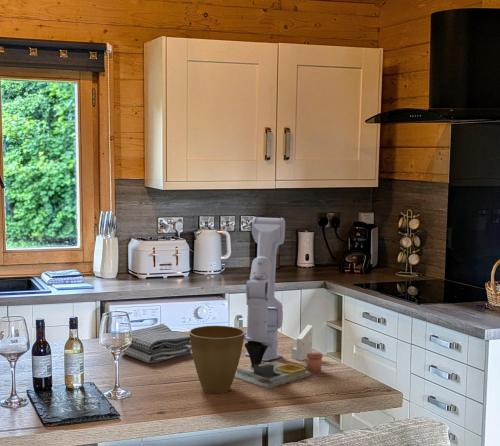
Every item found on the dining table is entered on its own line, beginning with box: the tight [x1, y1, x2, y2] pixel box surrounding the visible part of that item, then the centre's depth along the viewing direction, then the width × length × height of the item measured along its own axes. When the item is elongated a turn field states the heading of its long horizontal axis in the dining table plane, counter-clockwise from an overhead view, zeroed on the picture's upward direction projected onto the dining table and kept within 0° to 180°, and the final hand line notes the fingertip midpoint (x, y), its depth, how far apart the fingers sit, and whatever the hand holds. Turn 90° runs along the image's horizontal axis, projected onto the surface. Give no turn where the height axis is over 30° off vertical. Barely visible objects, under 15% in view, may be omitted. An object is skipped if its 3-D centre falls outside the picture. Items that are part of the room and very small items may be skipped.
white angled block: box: [291, 324, 314, 361], centre depth 237 cm, size 4×10×9 cm, turn 141°
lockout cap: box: [307, 352, 324, 374], centre depth 223 cm, size 5×5×5 cm
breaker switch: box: [254, 361, 274, 377], centre depth 214 cm, size 4×4×3 cm
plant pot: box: [188, 325, 245, 394], centre depth 204 cm, size 15×15×16 cm
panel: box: [234, 360, 312, 389], centre depth 217 cm, size 14×18×2 cm
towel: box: [122, 323, 192, 364], centre depth 236 cm, size 15×18×8 cm
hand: (256, 367), depth 216 cm, fingers closed
